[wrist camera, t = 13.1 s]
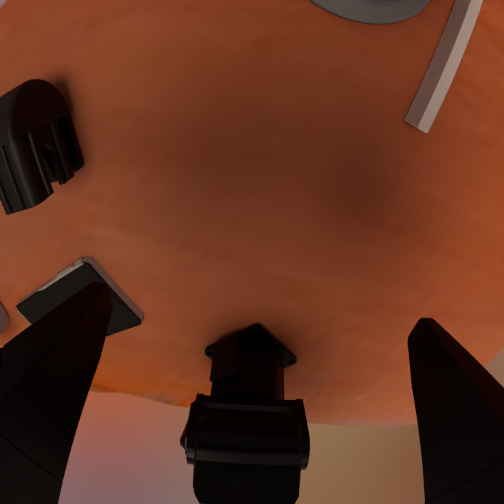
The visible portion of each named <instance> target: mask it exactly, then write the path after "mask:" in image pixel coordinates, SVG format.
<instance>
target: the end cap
mask: <svg viewBox="0 0 504 504" xmlns="http://www.w3.org/2000/svg"><path fill="white" fill-rule="evenodd" d="M83 164H84V162H83V157H82V154H81V150H80V147H79V144H78V140H77V137H76V133H75V130H74V126H73V122H72V118H71V115H70V113H69V110H68V107H67V104H66V102H65V100H64V98H63V97H62V95H61V93H60V92H59V91H58V90H57V89H56V88H55V87H54V86H53V85H52V84H51V83H49V82H47V81H45V80H40V79H32V80H29V81H26V82H24V83H22V84H21V85H19V86H17V87H16V88H14V89H12V90H11V91H9V92H7V93H6V94H4V95H3V96H1V97H0V200H1V202H2V205H3V207H4V210H5V212H6V214H7V215H9V214H12V213H15V212H19V211H22V210H25V209H29V208H32V207H34V206H37V205H38V204H40V203H42V202H43V201H44V200H45V199H47V198H48V197H49V196H50V195H51V194H52V193H54V191H53V188H52V186H51V183H52V182H55V181H59V184H60V185H62V184H65V183H66V182H67V181H68V180H70V179H71V178H72V177H73V176H74V172H76V171H78V170H79V169H80V168H82V166H83Z"/></svg>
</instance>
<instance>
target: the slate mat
mask: <svg viewBox="0 0 504 504" xmlns="http://www.w3.org/2000/svg"><path fill="white" fill-rule="evenodd" d="M310 1H311V2H313V3H314V4H316V5H318V6H319V7H321V8H323V9H324V10H326V11H328V12H330V13H332V14H335V15H337V16H340V17H342V18H346V19H349V20H352V21H357V22H361V23H369V24H386V23H394V22H398V21H402V20H405V19H408V18H410V17H412V16H414V15H416V14H417V13H419V12H420V11H421V10H422V9H424V8H425V7H426V5H427V4H428V3H429V2H430V0H310Z"/></svg>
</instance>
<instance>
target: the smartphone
mask: <svg viewBox="0 0 504 504" xmlns="http://www.w3.org/2000/svg"><path fill="white" fill-rule="evenodd" d="M93 281H100V282H106V283H107V284H108V285H109V289H110V294H111V298H112V303H113V311H112V315H111V319H110V322H109V326H108V330H107V334H106V336H109V335H112V334H115V333H118V332H121V331H124V330H126V329H129V328H132V327H135V326H138V325H140V324H141V323H142V320H143V316H144V314H143V313H142V311H141V310H140V309H139V308H138V307H137V306H136V305H135V304H134V303H133V302H132V301H131V300H130V299H129V298H128V296H127V295H126V294H125V293H124V292H123V291H122V290H121V289H120V288H119V286H118V285H117V284H116V283H115V282H114V281H113V280H112V279H111V277H110V276H109V275H108V274H107V273H106V272H105V270H104V269H103V268H102V267H101V266H100V265H99V263H98V262H97V261H96V260H95V259H94V258H93V257H89V256H86V257H84V258H80V259H79V260H77V261H76V262H74V263H72V264H71V265H69V266H68V267H66V268H65V269H63V270H62V271H60V272H59V273H58V274H57V275H56V276H55V277H54V278H52V279H51V280H50V281H48V282H47V283H45V284H44V285H42V286H41V287H39V288H38V289H36V290H35V291H34V292H32V293H31V294H29V295H28V296H27V297H25V298H24V299H22V300H21V301H20V302H18V304H17V305H16V309H17V311H18V312H19V313H20V314H21V315H22V316H23V317H24V318H25V319H26V320H27V321H28V322H29V323H30V324H31V325H32V324H33V323H34V322H36V321H37V320H38V319H40V318H41V317H43V316H44V315H45V314H47V313H48V312H49V311H51V310H52V309H54V308H55V307H56V306H58V305H59V304H61V303H62V302H64V301H65V300H66V299H68V298H69V297H71V296H72V295H74V294H75V293H76V292H78V291H79V290H81V289H82V288H84V287H85V286H87V285H88V284H90V283H91V282H93Z"/></svg>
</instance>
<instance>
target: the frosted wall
mask: <svg viewBox="0 0 504 504" xmlns="http://www.w3.org/2000/svg"><path fill="white" fill-rule="evenodd" d="M482 2H483V0H455V3H454V5H453V8H452V11H451V13H450V16H449V19H448V21H447V24H446V26H445V29H444V31H443V34H442V36H441V39H440V41H439V44H438V46H437V48H436V51H435V53H434V56H433V58H432V60H431V63H430V65H429V67H428V69H427V72H426V74H425V76H424V79H423V81H422V83H421V85H420V87H419V90H418V92H417V94H416V96H415V98H414V100H413V103H412V105H411V107H410V109H409V111H408V113H407V115H406V117H405V119H404V121H406V122H407V123H409V124H411V125H412V126H414V127H416V128H418V129H420V130H421V131H423V132H425V133H427V134H428V132H429V129H430V127H431V125H432V123H433V121H434V119H435V117H436V115H437V113H438V111H439V109H440V107H441V104H442V102H443V100H444V98H445V96H446V93H447V91H448V89H449V87H450V85H451V82H452V80H453V78H454V75H455V73H456V71H457V68H458V66H459V63H460V61H461V59H462V56H463V54H464V51H465V49H466V46H467V43H468V41H469V38H470V36H471V33H472V30H473V28H474V25H475V22H476V19H477V16H478V13H479V11H480V8H481V5H482Z"/></svg>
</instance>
